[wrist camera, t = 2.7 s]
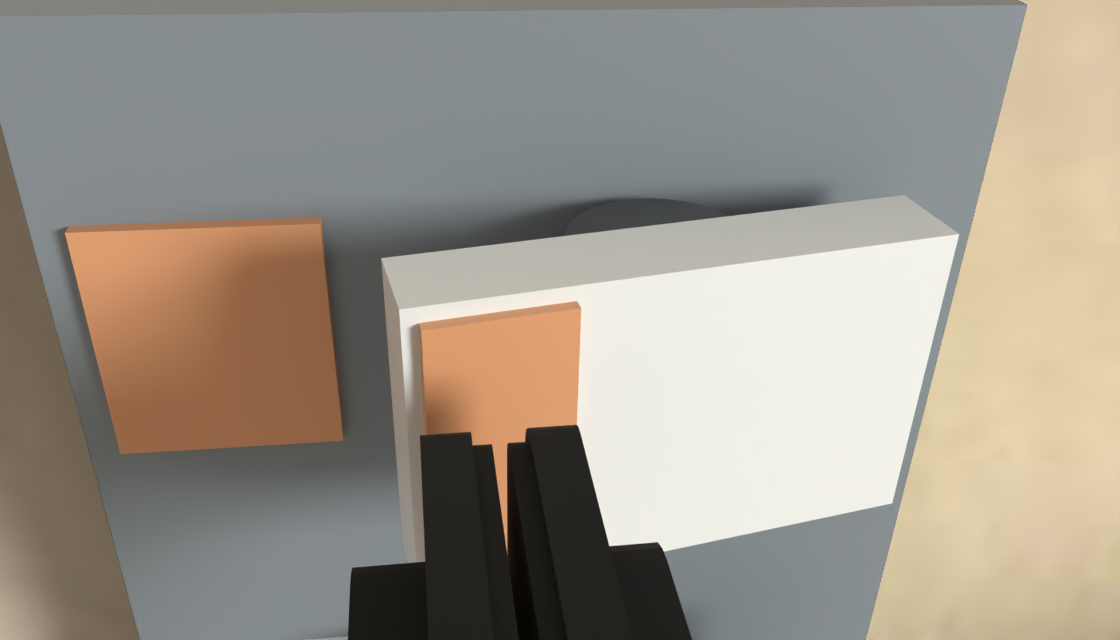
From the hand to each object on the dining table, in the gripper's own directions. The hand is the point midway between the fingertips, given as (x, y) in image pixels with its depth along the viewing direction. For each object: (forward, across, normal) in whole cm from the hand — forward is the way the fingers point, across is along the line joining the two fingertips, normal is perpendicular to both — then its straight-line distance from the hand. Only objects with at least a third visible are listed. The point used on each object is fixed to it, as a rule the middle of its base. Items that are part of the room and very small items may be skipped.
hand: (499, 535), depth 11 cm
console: (+8, -1, +8) cm, 12 cm away
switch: (+4, -2, 0) cm, 5 cm away
